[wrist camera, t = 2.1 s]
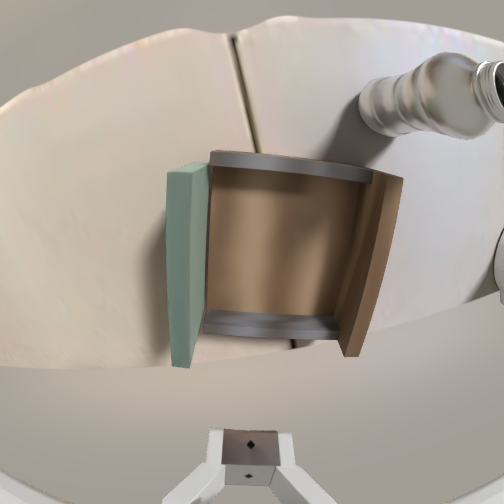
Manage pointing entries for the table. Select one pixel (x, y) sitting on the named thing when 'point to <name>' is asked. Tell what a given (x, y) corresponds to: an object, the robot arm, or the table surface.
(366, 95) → the plastic bottle
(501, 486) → the robot arm
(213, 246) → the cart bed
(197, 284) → the panel
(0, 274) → the table surface
